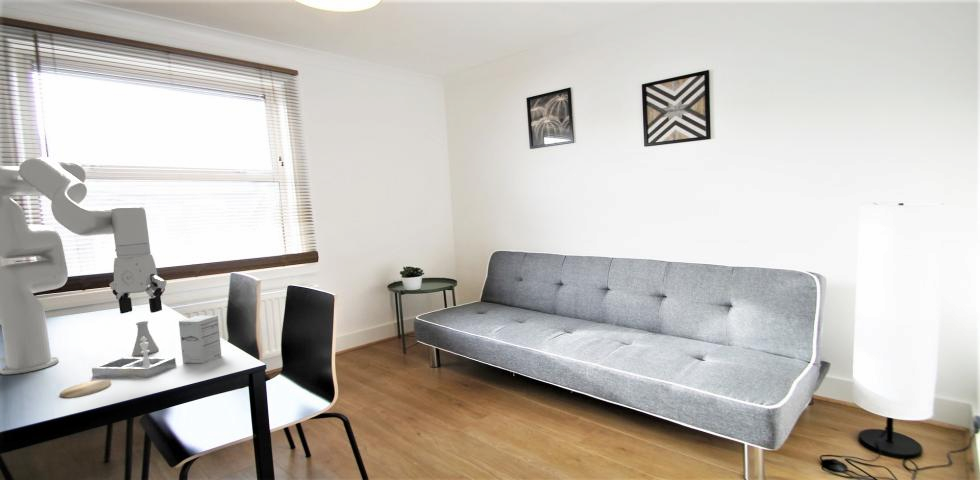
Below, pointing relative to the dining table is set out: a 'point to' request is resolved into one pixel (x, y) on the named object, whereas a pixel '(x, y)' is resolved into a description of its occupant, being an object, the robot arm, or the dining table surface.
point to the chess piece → (145, 352)
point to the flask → (145, 332)
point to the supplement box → (200, 339)
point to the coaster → (85, 388)
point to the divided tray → (133, 367)
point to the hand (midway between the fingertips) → (141, 311)
